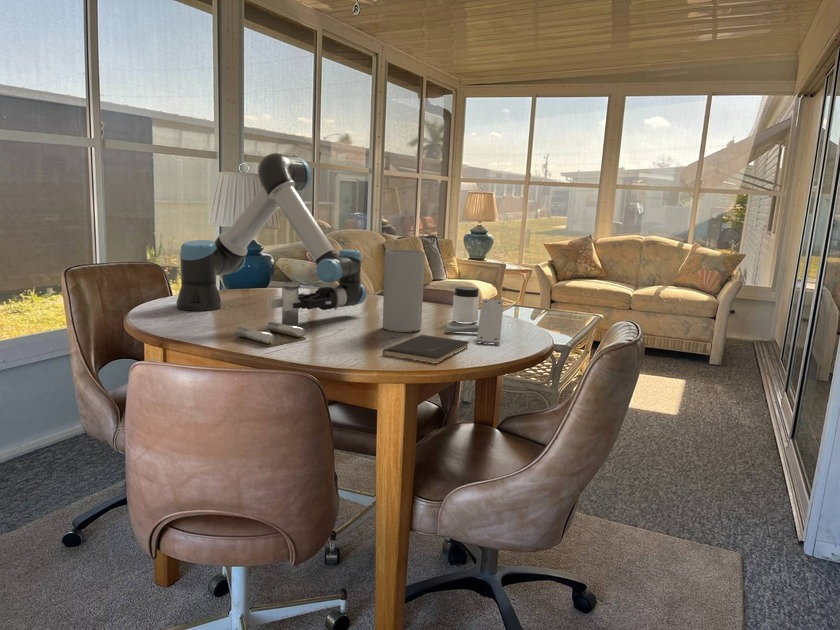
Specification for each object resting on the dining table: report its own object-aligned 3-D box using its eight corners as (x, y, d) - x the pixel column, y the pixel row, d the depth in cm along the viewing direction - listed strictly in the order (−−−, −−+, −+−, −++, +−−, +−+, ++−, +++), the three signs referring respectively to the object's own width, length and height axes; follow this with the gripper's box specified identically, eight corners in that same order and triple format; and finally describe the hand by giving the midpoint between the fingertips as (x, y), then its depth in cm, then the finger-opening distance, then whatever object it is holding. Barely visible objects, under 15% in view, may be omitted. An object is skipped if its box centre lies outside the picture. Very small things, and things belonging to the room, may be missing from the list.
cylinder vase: (384, 332, 197) (387, 252, 192) (380, 324, 209) (383, 249, 205) (424, 333, 199) (427, 253, 195) (418, 325, 211) (421, 250, 207)
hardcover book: (469, 349, 183) (469, 341, 182) (437, 366, 162) (437, 357, 162) (418, 341, 189) (419, 334, 189) (382, 357, 169) (382, 348, 168)
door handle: (497, 362, 191) (501, 319, 206) (499, 342, 186) (503, 300, 201) (440, 356, 194) (448, 314, 209) (440, 336, 188) (448, 295, 203)
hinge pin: (276, 326, 198) (276, 282, 196) (290, 324, 203) (290, 281, 201) (289, 329, 195) (290, 284, 193) (303, 327, 200) (304, 283, 197)
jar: (476, 320, 225) (478, 287, 223) (478, 324, 217) (481, 290, 215) (451, 319, 225) (453, 285, 222) (452, 323, 217) (454, 289, 214)
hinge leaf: (234, 339, 179) (234, 327, 179) (273, 331, 191) (273, 320, 190) (268, 347, 171) (268, 335, 171) (306, 339, 183) (306, 327, 182)
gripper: (349, 312, 208) (298, 321, 189) (310, 305, 218) (257, 313, 199) (350, 289, 207) (298, 296, 188) (310, 283, 217) (257, 289, 198)
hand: (277, 305), depth 194 cm, fingers closed on hinge pin, 5 cm apart
